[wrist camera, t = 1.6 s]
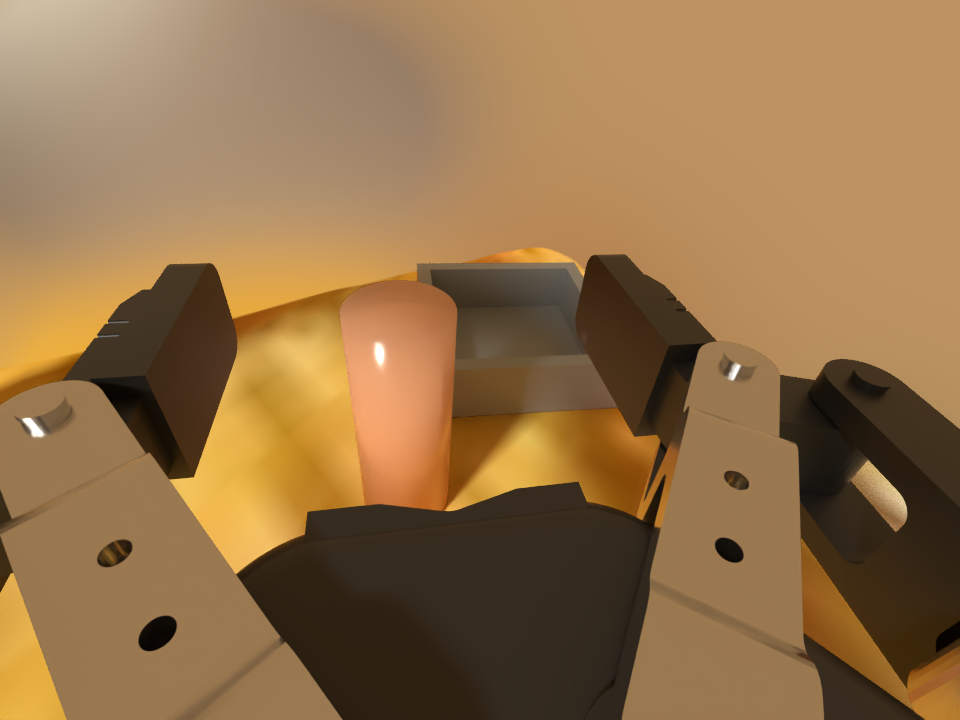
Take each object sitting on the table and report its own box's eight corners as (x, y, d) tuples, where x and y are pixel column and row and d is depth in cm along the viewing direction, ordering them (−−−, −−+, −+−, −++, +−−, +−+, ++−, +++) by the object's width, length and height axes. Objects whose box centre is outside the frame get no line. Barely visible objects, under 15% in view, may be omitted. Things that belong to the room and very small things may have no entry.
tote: (427, 418, 38) (428, 371, 35) (417, 306, 51) (417, 263, 47) (619, 407, 41) (635, 362, 38) (565, 303, 53) (574, 262, 50)
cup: (363, 535, 30) (335, 347, 21) (365, 464, 34) (343, 280, 25) (451, 527, 31) (463, 343, 22) (443, 458, 35) (451, 279, 26)
